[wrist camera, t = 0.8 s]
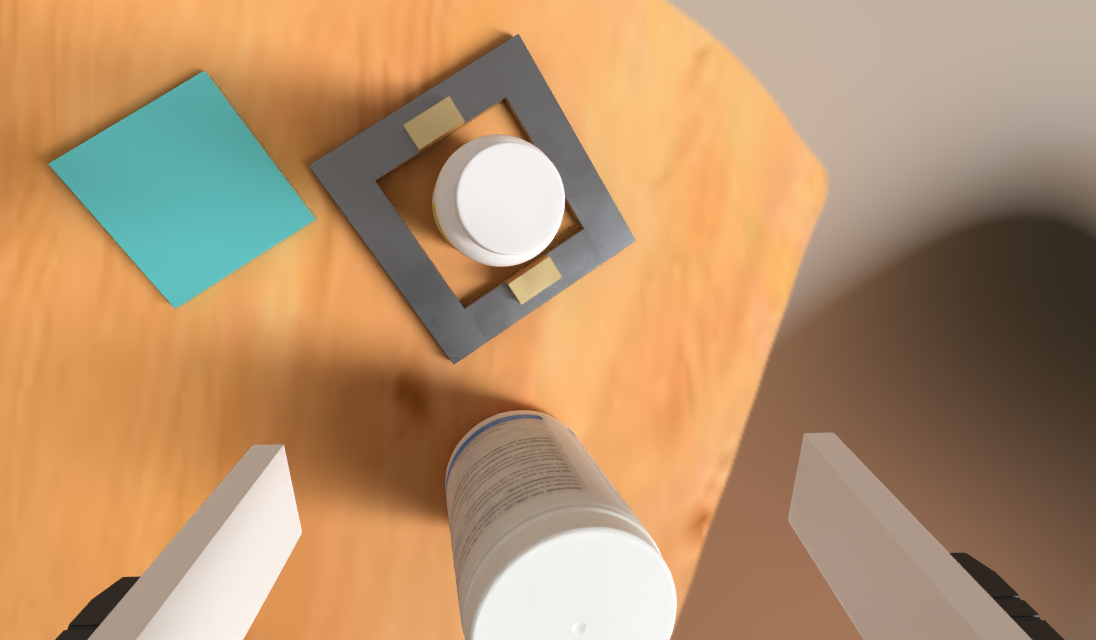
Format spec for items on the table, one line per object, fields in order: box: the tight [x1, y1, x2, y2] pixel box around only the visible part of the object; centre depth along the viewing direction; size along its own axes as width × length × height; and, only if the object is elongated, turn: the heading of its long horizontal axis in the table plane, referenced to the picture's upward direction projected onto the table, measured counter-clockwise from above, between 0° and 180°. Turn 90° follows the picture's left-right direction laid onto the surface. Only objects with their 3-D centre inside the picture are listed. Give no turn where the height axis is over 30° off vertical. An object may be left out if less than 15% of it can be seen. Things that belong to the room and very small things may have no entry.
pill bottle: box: [432, 134, 565, 267], centre depth 28 cm, size 6×6×11 cm
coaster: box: [49, 71, 317, 308], centre depth 29 cm, size 9×9×1 cm
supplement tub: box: [445, 410, 677, 640], centre depth 30 cm, size 10×10×15 cm
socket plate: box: [309, 34, 636, 364], centre depth 32 cm, size 14×14×2 cm
